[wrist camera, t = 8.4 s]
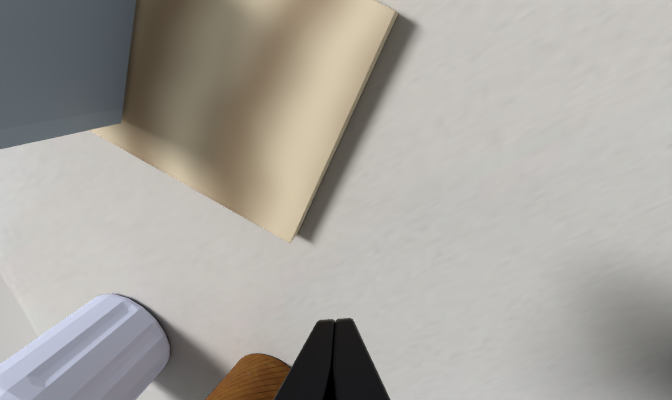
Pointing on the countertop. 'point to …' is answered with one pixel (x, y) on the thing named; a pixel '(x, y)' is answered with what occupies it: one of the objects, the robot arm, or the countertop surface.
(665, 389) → the countertop surface
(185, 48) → the flat panel
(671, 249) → the countertop surface
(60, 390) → the soap bottle
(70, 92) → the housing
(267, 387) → the disposable coffee cup
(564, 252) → the countertop surface
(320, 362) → the robot arm
